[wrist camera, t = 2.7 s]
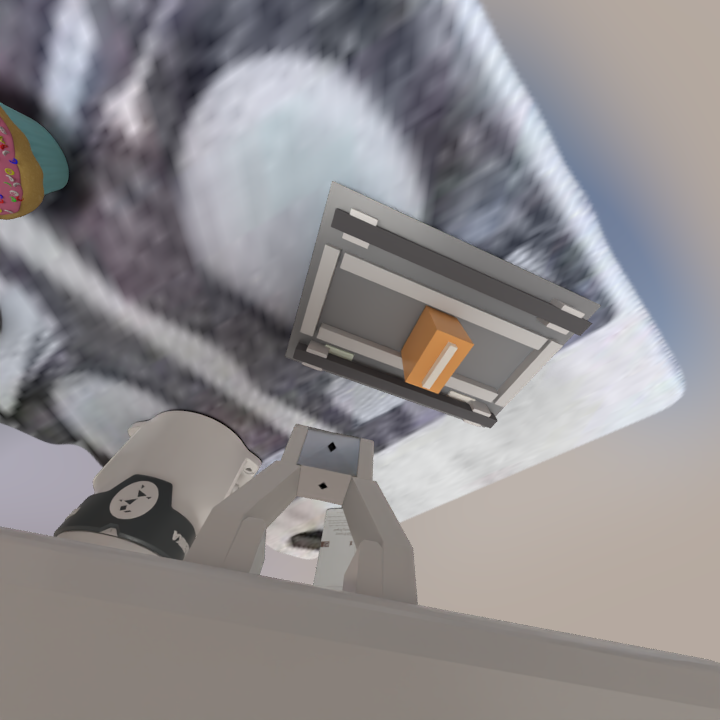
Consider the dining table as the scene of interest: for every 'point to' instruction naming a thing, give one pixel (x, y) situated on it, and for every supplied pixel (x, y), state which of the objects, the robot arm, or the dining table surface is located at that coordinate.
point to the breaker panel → (423, 306)
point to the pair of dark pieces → (453, 272)
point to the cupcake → (27, 164)
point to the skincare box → (334, 551)
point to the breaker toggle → (434, 350)
